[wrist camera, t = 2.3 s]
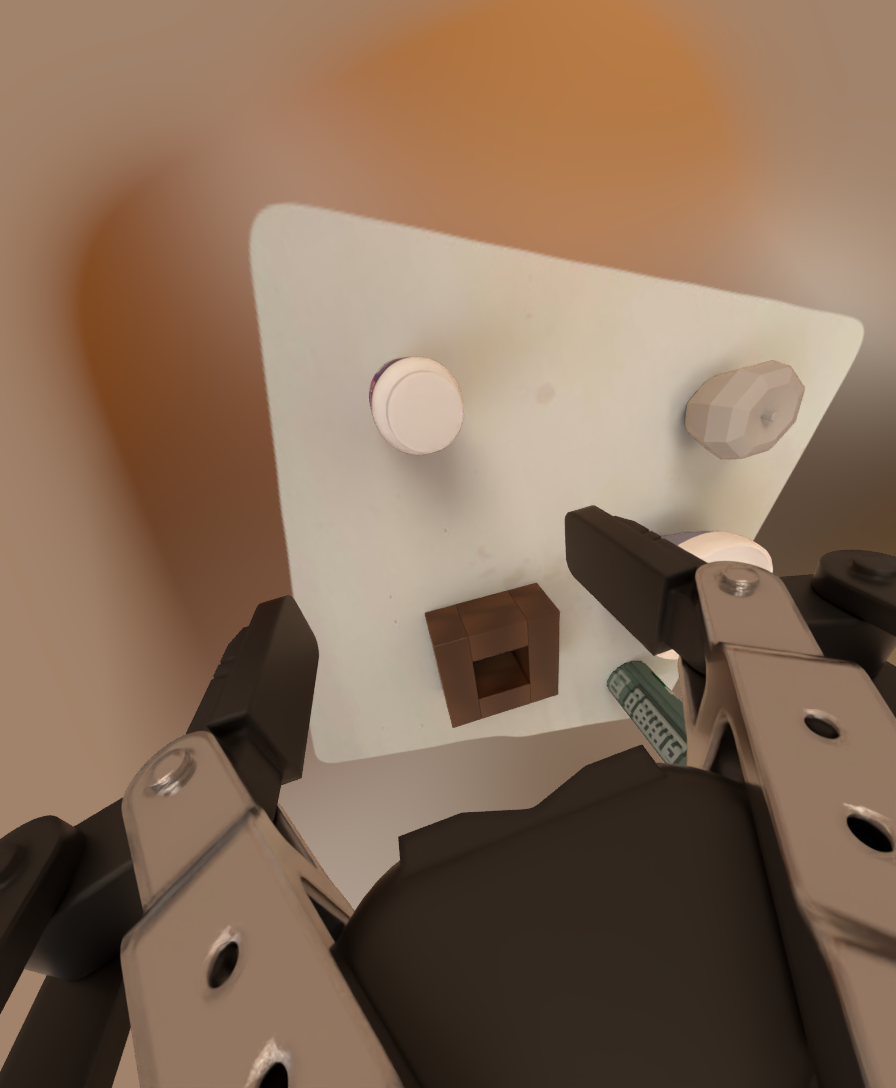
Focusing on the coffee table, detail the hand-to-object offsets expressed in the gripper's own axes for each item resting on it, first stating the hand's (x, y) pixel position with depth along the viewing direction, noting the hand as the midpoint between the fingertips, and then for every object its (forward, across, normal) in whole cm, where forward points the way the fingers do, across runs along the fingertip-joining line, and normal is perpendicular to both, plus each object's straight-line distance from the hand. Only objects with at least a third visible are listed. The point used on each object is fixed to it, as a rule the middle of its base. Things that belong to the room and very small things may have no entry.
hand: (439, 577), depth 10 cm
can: (+20, -24, +40) cm, 51 cm away
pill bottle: (+20, -2, -3) cm, 20 cm away
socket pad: (+20, -5, +24) cm, 32 cm away
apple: (+20, -29, +4) cm, 36 cm away
